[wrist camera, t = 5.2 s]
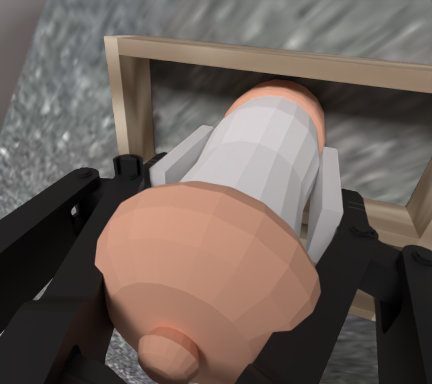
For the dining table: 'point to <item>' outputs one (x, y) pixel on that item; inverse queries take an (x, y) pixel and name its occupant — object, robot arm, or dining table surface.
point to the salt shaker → (220, 244)
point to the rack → (276, 64)
